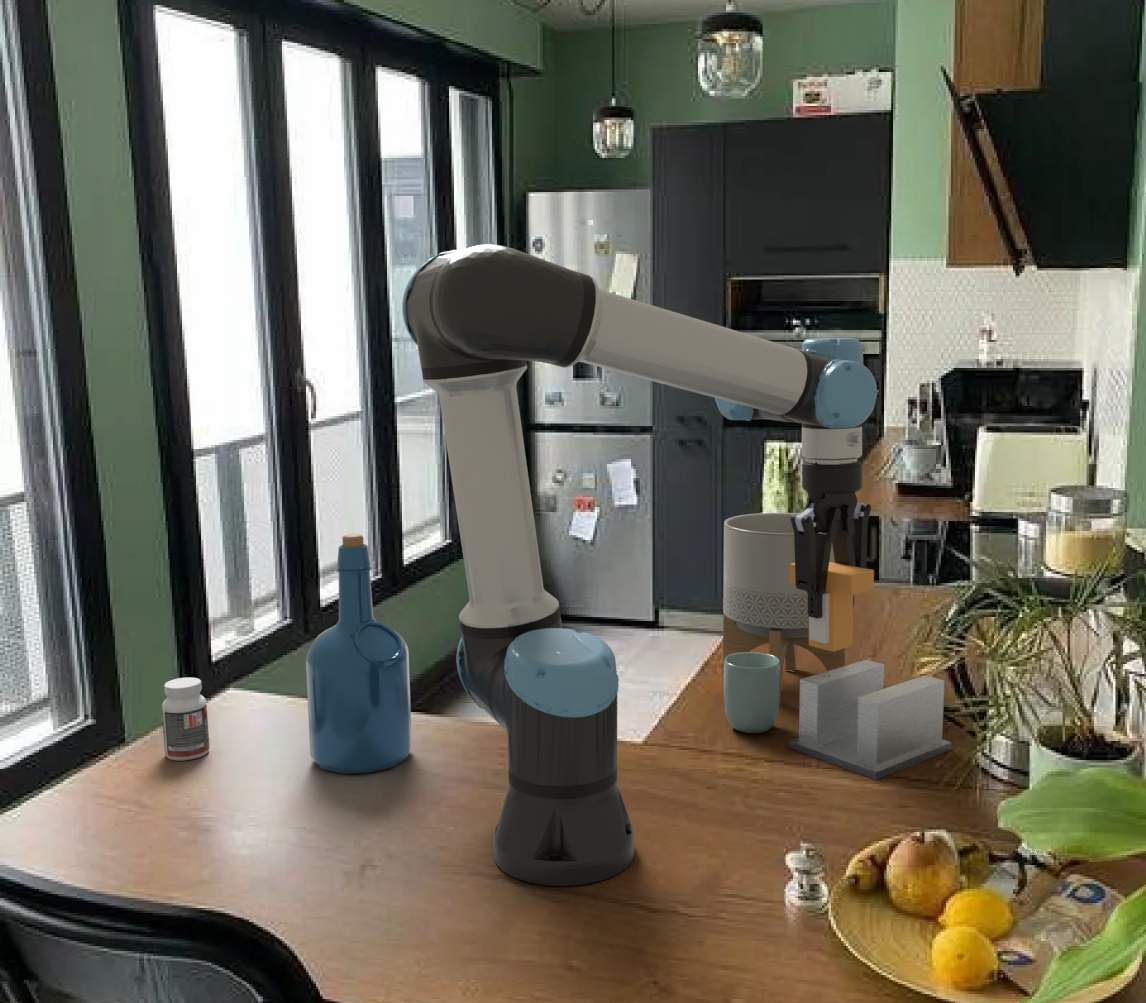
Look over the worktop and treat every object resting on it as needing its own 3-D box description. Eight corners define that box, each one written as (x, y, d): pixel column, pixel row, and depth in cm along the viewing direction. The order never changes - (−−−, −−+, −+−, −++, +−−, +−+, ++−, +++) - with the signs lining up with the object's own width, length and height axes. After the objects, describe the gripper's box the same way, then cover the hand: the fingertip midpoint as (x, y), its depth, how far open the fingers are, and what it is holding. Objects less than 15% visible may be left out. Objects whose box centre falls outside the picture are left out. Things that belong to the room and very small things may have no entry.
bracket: (875, 780, 141) (878, 706, 139) (789, 748, 152) (790, 679, 150) (951, 749, 151) (953, 680, 149) (864, 721, 161) (866, 657, 160)
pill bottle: (217, 753, 152) (213, 682, 151) (178, 765, 148) (173, 692, 147) (196, 743, 156) (191, 673, 155) (157, 754, 152) (152, 683, 151)
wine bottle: (290, 759, 150) (279, 536, 145) (371, 733, 159) (363, 522, 155) (352, 787, 140) (342, 549, 136) (435, 757, 150) (428, 534, 145)
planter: (838, 710, 166) (842, 536, 162) (711, 698, 172) (712, 530, 168) (850, 673, 184) (854, 515, 180) (734, 663, 190) (736, 510, 186)
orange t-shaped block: (851, 657, 143) (851, 576, 142) (789, 641, 151) (789, 564, 149) (873, 649, 146) (873, 570, 144) (811, 634, 154) (811, 558, 152)
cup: (778, 740, 155) (779, 669, 153) (721, 736, 156) (721, 666, 155) (780, 720, 162) (781, 653, 161) (725, 717, 164) (725, 650, 162)
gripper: (811, 469, 136) (811, 657, 140) (897, 455, 147) (894, 630, 151) (764, 464, 142) (765, 644, 146) (850, 451, 153) (848, 619, 156)
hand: (831, 636), depth 148 cm, fingers closed on orange t-shaped block, 4 cm apart
